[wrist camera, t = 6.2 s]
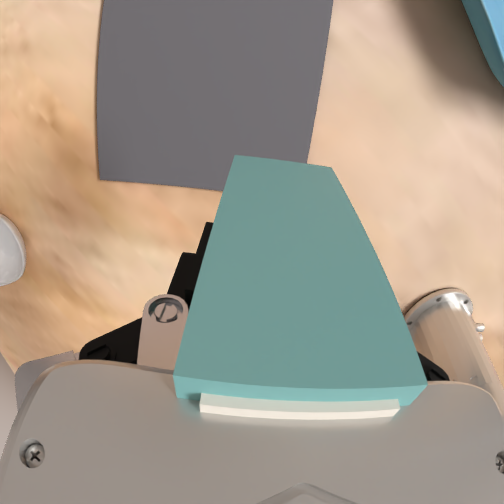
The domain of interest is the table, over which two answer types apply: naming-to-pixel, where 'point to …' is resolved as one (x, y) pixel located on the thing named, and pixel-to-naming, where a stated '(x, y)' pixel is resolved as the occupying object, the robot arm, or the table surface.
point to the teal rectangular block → (294, 306)
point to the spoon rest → (11, 252)
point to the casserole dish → (489, 31)
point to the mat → (206, 86)
